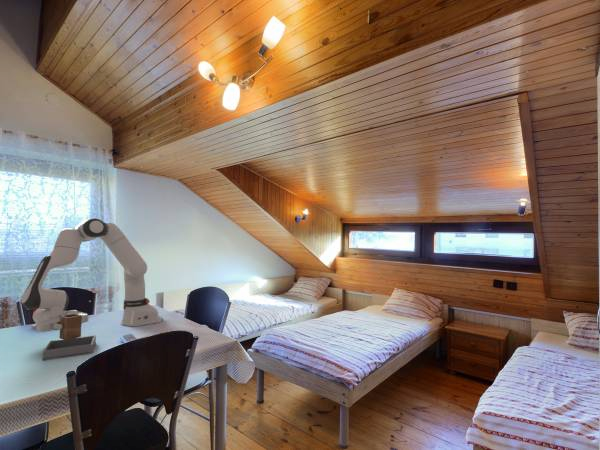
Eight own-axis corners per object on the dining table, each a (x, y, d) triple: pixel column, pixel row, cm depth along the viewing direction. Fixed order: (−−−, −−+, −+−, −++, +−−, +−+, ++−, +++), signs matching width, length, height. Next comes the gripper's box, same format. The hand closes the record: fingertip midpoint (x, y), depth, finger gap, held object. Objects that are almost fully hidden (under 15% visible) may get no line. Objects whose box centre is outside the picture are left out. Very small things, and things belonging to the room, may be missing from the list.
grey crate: (95, 343, 158) (95, 335, 158) (92, 353, 145) (92, 344, 145) (50, 349, 149) (50, 340, 149) (42, 360, 137) (42, 351, 137)
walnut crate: (59, 338, 146) (60, 316, 146) (74, 334, 151) (74, 313, 151) (66, 340, 143) (67, 318, 143) (80, 336, 148) (81, 315, 149)
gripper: (30, 318, 144) (45, 323, 138) (79, 309, 162) (94, 313, 156) (29, 332, 144) (44, 337, 138) (79, 321, 162) (94, 326, 156)
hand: (71, 324), depth 147 cm, fingers closed on walnut crate, 6 cm apart
